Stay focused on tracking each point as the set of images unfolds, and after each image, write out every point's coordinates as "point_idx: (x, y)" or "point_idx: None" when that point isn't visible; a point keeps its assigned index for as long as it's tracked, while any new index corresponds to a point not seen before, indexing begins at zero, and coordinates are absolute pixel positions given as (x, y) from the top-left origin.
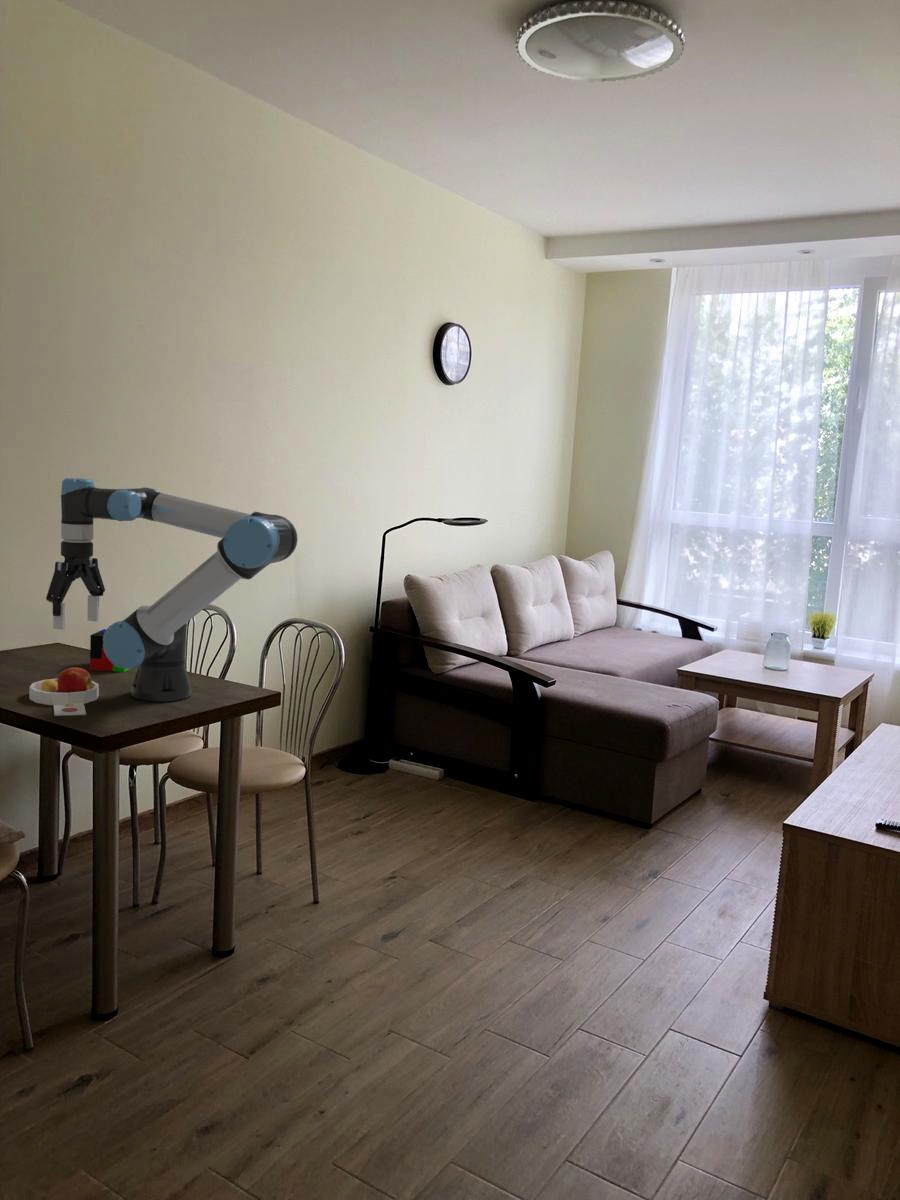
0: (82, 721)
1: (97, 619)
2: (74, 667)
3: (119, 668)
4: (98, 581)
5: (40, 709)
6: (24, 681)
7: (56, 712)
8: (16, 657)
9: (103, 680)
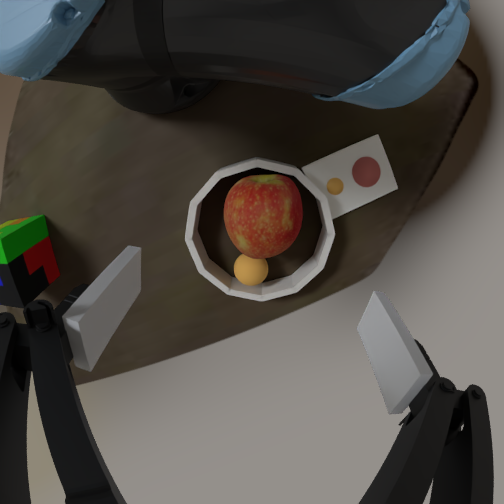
0: (416, 127)
1: (131, 250)
2: (259, 229)
3: (42, 225)
4: (2, 391)
5: (361, 229)
6: (180, 334)
7: (387, 189)
8: (80, 377)
9: (104, 218)
